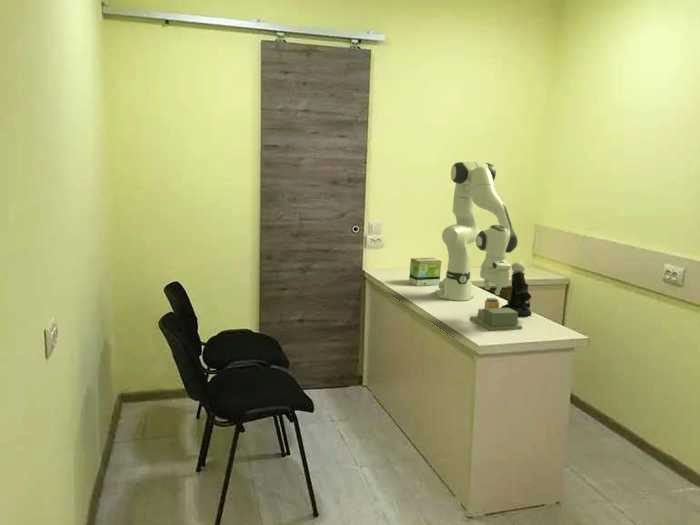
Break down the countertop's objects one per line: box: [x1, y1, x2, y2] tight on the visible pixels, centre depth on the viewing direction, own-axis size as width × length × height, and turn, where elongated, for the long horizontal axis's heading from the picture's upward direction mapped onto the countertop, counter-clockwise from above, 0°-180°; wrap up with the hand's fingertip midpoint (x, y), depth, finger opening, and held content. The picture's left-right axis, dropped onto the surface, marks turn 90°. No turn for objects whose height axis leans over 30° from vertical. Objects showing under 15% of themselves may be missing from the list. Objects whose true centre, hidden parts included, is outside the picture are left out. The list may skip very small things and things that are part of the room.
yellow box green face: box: [483, 297, 500, 309], centre depth 265 cm, size 4×5×9 cm
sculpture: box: [500, 261, 532, 318], centre depth 275 cm, size 15×24×25 cm, turn 179°
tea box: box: [408, 257, 442, 287], centre depth 338 cm, size 15×10×15 cm
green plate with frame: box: [469, 307, 523, 331], centre depth 261 cm, size 18×16×7 cm
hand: (492, 292), depth 264 cm, fingers open, 8 cm apart
